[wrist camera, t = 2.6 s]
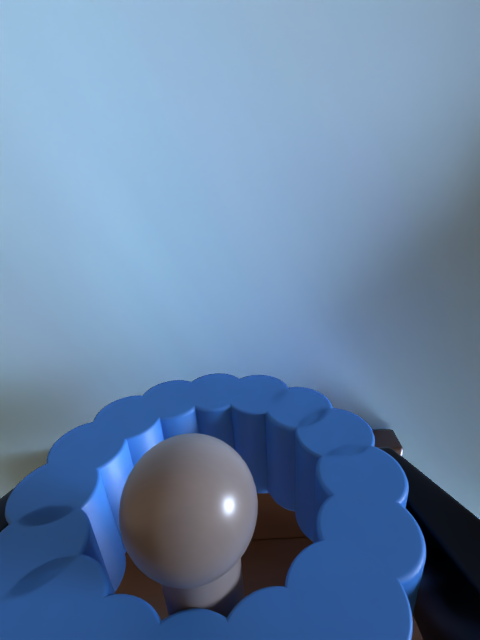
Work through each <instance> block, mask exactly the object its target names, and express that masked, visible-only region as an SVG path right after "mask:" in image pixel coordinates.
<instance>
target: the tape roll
mask: <svg viewBox="0 0 480 640" xmlns="http://www.w3.org/2000/svg"><path fill="white" fill-rule="evenodd" d="M188 433H198V434H205V435H209V436H212V437H215V438H218V439H220V440H222V441H224V442H225V443H227V444H228V445H229V446H231V447H232V448H233V449H234V450H235V451H236V452H237V453H238V454H239V455H240V456H241V457H242V459H243V460H244V461H245V463H246V464H247V466H248V468H249V470H250V472H251V474H252V477H253V479H254V483H255V486H256V492H257V493H270V495H271V497H272V498H273V499H274V501H275V502H276V503H277V504H279V505H280V506H282V507H283V508H285V509H288V510H291V511H295V515H296V520H297V523H298V525H299V527H300V529H301V530H302V532H303V533H304V534H305V535H306V536H307V537H308V538H309V539H310V540H311V541H313V544H311V545H309V546H307V547H306V548H305V549H303V550H302V551H301V552H300V553H299V554H298V555H297V556H296V558H295V559H294V561H293V562H292V564H291V566H290V568H289V570H288V573H287V576H286V580H285V587H284V586H272V587H266V588H262V589H259V590H257V591H254V592H252V593H251V594H249V595H247V596H246V597H245V598H243V599H242V600H241V601H240V602H239V603H238V604H237V605H236V606H235V607H234V608H233V610H232V611H231V612H230V614H229V615H228V617H227V618H226V617H225V616H223V615H221V614H219V613H217V612H214V611H211V610H207V609H200V608H193V609H186V610H183V611H179V612H177V613H174V614H172V615H170V616H168V617H166V618H165V619H163V620H162V621H161V618H160V617H159V615H158V613H157V612H156V611H155V609H154V608H153V607H152V606H151V605H150V604H149V603H147V602H146V601H144V600H143V599H141V598H138V597H136V596H133V595H128V594H115V591H116V590H117V589H118V587H119V585H120V583H121V581H122V579H123V576H124V573H125V568H126V556H125V553H126V552H127V551H126V548H125V546H124V543H123V541H122V536H121V532H120V527H119V506H120V499H121V495H122V491H123V488H124V485H125V483H126V480H127V478H128V476H129V474H130V472H131V471H132V469H133V468H134V466H135V464H136V463H137V462H138V461H139V460H140V458H141V457H142V456H143V455H144V454H145V453H146V452H147V451H148V450H150V449H151V448H152V447H153V446H155V445H156V444H158V443H159V442H161V441H163V440H166V439H168V438H170V437H173V436H176V435H180V434H188ZM374 444H375V438H374V434H373V431H372V429H371V428H370V426H369V425H368V424H367V423H366V422H365V421H364V420H363V419H362V418H361V417H359V416H357V415H355V414H354V413H351V412H349V411H346V410H342V409H336V408H333V407H332V405H331V403H330V401H329V400H328V399H327V398H326V397H325V396H324V395H323V394H321V393H320V392H318V391H315V390H312V389H309V388H304V387H289V388H288V387H287V385H286V384H285V383H284V382H282V381H281V380H279V379H277V378H274V377H271V376H266V375H252V376H247V377H243V378H240V379H239V378H237V377H235V376H233V375H229V374H209V375H205V376H202V377H199V378H197V379H195V380H194V381H192V382H189V381H184V380H174V381H168V382H164V383H161V384H158V385H156V386H154V387H152V388H150V389H149V390H148V391H147V392H145V393H144V395H143V396H141V395H139V396H129V397H125V398H122V399H119V400H116V401H114V402H112V403H110V404H109V405H107V406H106V407H104V408H103V409H102V410H101V411H100V412H99V413H98V414H97V415H96V417H95V419H94V421H93V422H91V423H87V424H84V425H81V426H78V427H76V428H74V429H72V430H71V431H69V432H67V433H66V434H64V435H63V436H62V437H60V438H59V439H58V440H57V441H56V442H55V443H54V445H53V446H52V447H51V449H50V451H49V453H48V456H47V464H45V465H43V466H41V467H39V468H37V469H36V470H34V471H33V472H31V473H30V474H29V475H27V476H26V477H25V478H24V479H23V480H22V481H21V482H20V483H19V484H18V485H17V486H16V487H15V488H14V490H13V491H12V493H11V494H10V496H9V498H8V500H7V503H6V508H5V518H6V521H7V523H8V526H7V527H6V528H5V529H4V530H2V531H1V532H0V640H411V638H412V631H413V621H412V616H413V611H414V607H415V603H416V599H417V595H418V590H419V586H420V582H421V578H422V573H423V569H424V565H425V560H426V544H425V540H424V536H423V534H422V532H421V529H420V527H419V525H418V523H417V522H416V520H415V519H414V517H413V516H412V515H411V514H410V512H409V511H408V510H407V509H406V503H407V497H408V491H409V485H408V480H407V477H406V475H405V472H404V470H403V469H402V467H401V466H400V464H399V463H398V462H397V461H396V460H395V459H394V458H393V457H392V456H390V455H389V454H388V453H386V452H385V451H383V450H381V449H379V448H377V447H375V446H374Z"/></svg>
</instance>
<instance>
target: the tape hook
mask: <svg viewBox="0 0 480 640" xmlns="http://www.w3.org/2000/svg"><path fill="white" fill-rule="evenodd" d="M372 431H373V434H374V438H375V444H374V446H375V447H390V448H392V449H393V450H395V451H396V452H397V453H398V454H400V455H401V456H402V452H403V448H402V446H401V444H400V442H399V440H398V439H397V437H396V435H395V434H394V432H393V430H391V429H388V430H372ZM119 527H120V532H121V536H122V541H123V543H124V546H125V548H126V551H127V552H126V553H125V556H126V568H125V573H124V576H123V579H122V581H121V583H120V585H119V587H118V589H117V590H116V591H115V594H128V595H133V596H136V597H138V598H141V599H143V600H144V601H146V602H147V603H149V604H150V605H151V606H152V607H153V608H154V609H155V611H156V612H157V613H158V615H159V617H160V618H161V621H162V620H163V619H165V618H166V617H168V616H170V615H172V614H174V613H177V612H179V611H183V610H186V609H193V608H200V609H207V610H211V611H214V612H217V613H219V614H221V615H223V616H225V617H226V618H227V617H228V615H229V614H230V612H231V611H232V610H233V608H234V607H235V606H236V605H237V604H238V603H239V602H240V601H241V600H242V599H243V598H245V597H246V596H247V595H249V594H251V593H252V592H254V591H257V590H259V589H262V588H266V587H272V586H284V587H285V580H286V576H287V573H288V570H289V568H290V566H291V564H292V562H293V561H294V559H295V558H296V556H297V555H298V554H299V553H300V552H301V551H302V550H303V549H305V548H306V547H307V546H309V545H311V544H313V541H311V540H310V539H309V538H308V537H307V536H306V535H305V534H304V533H303V532H302V530H301V529H300V527H299V525H298V523H297V520H296V515H295V511H291V510H288V509H285V508H283V507H282V506H280V505H279V504H277V503H276V502H275V501H274V499H273V498H272V497H271V495H270V493H257V492H256V486H255V483H254V479H253V477H252V474H251V472H250V470H249V468H248V466H247V464H246V463H245V461H244V460H243V459H242V457H241V456H240V455H239V454H238V453H237V452H236V451H235V450H234V449H233V448H232V447H231V446H229V445H228V444H227V443H225V442H224V441H222V440H220V439H218V438H215V437H212V436H209V435H205V434H198V433H188V434H180V435H176V436H173V437H170V438H168V439H166V440H163V441H161V442H159V443H158V444H156V445H155V446H153V447H152V448H151V449H150V450H148V451H147V452H146V453H145V454H144V455H143V456H142V457H141V458H140V460H139V461H138V462H137V463H136V464H135V466H134V468H133V469H132V471H131V472H130V474H129V476H128V478H127V480H126V483H125V485H124V488H123V491H122V495H121V499H120V506H119ZM412 621H413V631H412V638H411V640H423V638H422V636H421V633H420V631H419V628H418V626H417V623H416V621H415V618H414V616H412Z"/></svg>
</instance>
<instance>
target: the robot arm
mask: <svg viewBox="0 0 480 640" xmlns="http://www.w3.org/2000/svg"><path fill="white" fill-rule="evenodd" d="M377 448H379V449H381V450H383V451H385V452H386V453H388V454H389V455H390V456H392V457H393V458H394V459H395V460H396V461H397V462H398V463H399V464H400V466H401V467H402V469H403V470H404V472H405V475H406V477H407V480H408V485H409V491H408V497H407V503H406V509H407V510H408V511H409V512H410V514H411V515H412V516H413V517H414V519H415V520H416V522H417V523H418V525H419V527H420V529H421V532H422V534H423V536H424V540H425V544H426V560H425V565H424V569H423V573H422V578H421V582H420V586H419V590H418V595H417V599H416V603H415V607H414V611H413V616H414V618H415V621H416V623H417V626H418V628H419V631H420V633H421V636H422V638H423V640H480V519H478V518H477V517H476V516H475V515H473V514H472V513H471V512H470V511H469V510H467V509H466V508H465V507H464V506H462V505H461V504H460V503H459V502H457V501H456V500H455V499H454V498H453V497H451V496H450V495H449V494H448V493H446V492H445V491H444V490H443V489H441V488H440V487H439V486H438V485H436V484H435V483H434V482H433V481H432V480H430V479H429V478H428V477H427V476H425V475H424V474H423V473H422V472H420V471H419V470H418V469H417V468H416V467H414V466H413V465H412V464H411V463H409V462H408V461H407V460H406V459H404V458H403V457H402V456H401V455H400V454H398V453H397V452H396V451H395V450H393V449H392V448H390V447H377ZM13 490H14V488H13V489H12V490H11V491H10V492H8V493H7V494H6V495H5V496H3V497H2V498H1V499H0V532H1V531H2V530H4V529H5V528H6V527H7V526H8V523H7V521H6V518H5V508H6V503H7V500H8V498H9V496H10V494H11V493H12V491H13Z"/></svg>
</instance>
